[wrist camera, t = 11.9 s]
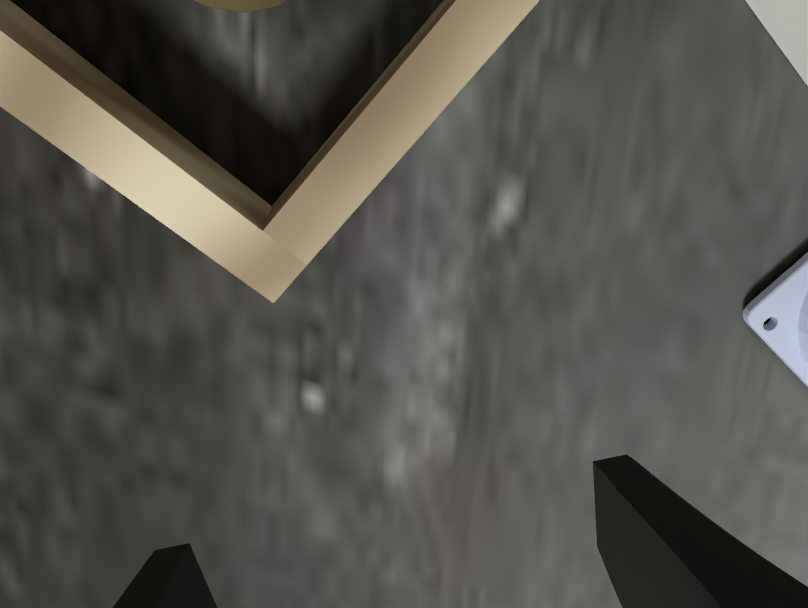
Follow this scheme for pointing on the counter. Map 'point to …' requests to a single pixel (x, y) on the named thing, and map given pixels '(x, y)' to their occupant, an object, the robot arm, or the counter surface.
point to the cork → (241, 4)
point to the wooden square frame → (209, 182)
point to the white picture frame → (787, 28)
